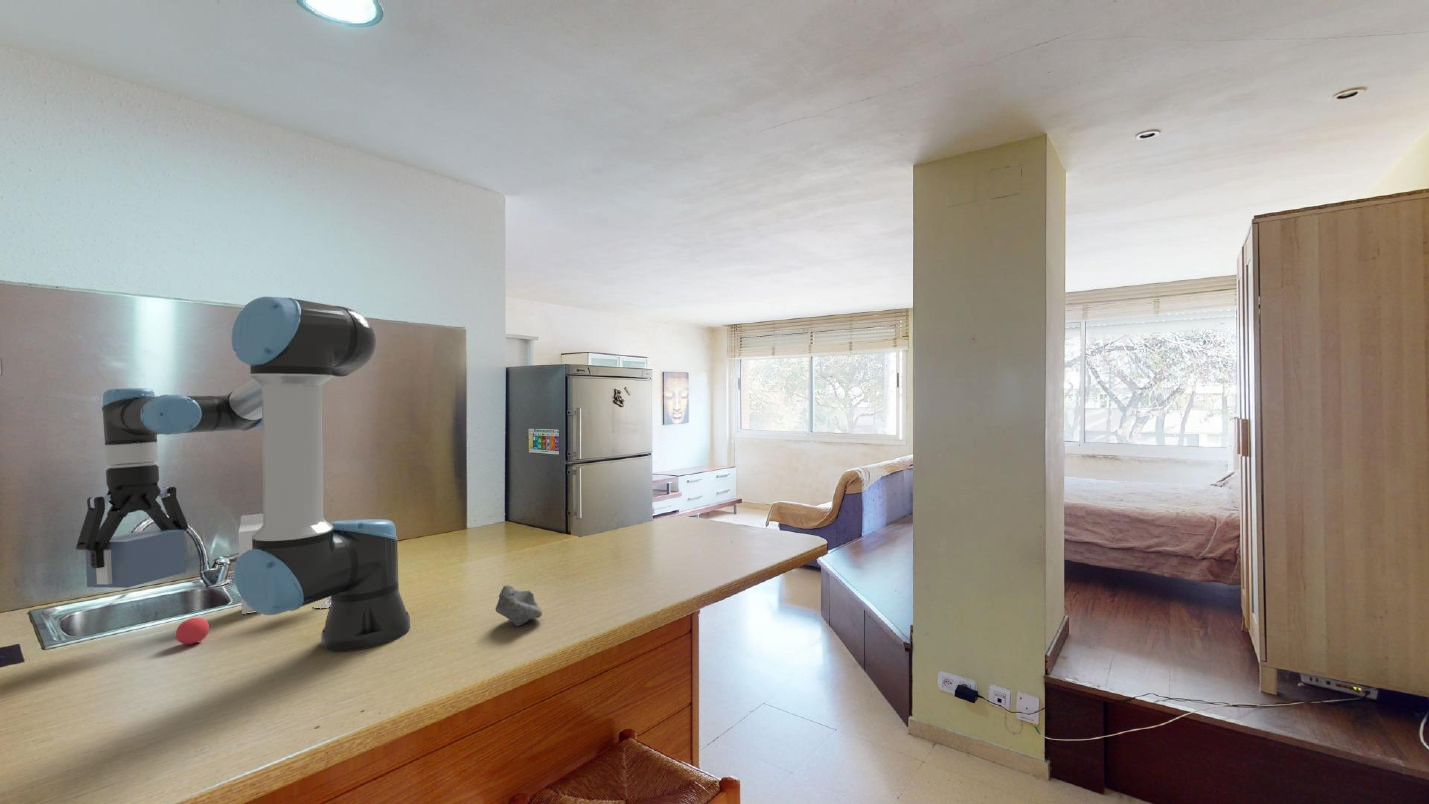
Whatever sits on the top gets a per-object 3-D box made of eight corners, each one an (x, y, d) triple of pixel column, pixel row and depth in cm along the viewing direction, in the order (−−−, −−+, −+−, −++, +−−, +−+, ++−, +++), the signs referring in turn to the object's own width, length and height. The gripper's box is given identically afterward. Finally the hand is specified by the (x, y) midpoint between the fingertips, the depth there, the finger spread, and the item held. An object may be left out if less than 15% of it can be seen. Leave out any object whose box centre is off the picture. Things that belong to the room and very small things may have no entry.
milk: (274, 609, 134) (270, 514, 134) (241, 615, 131) (237, 518, 131) (278, 602, 140) (275, 510, 140) (246, 607, 137) (243, 513, 137)
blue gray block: (186, 572, 121) (183, 529, 121) (127, 587, 111) (125, 541, 111) (147, 571, 123) (145, 530, 123) (87, 587, 113) (84, 542, 113)
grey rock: (548, 627, 116) (546, 587, 116) (500, 638, 112) (499, 596, 112) (536, 611, 126) (534, 574, 126) (491, 620, 121) (490, 582, 121)
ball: (216, 638, 118) (215, 614, 118) (189, 649, 113) (188, 623, 113) (196, 637, 119) (195, 613, 119) (169, 648, 114) (168, 622, 114)
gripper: (180, 459, 129) (185, 559, 129) (43, 473, 107) (49, 593, 107) (207, 458, 128) (212, 559, 127) (74, 471, 105) (80, 594, 105)
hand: (138, 575), depth 117 cm, fingers closed on blue gray block, 10 cm apart
